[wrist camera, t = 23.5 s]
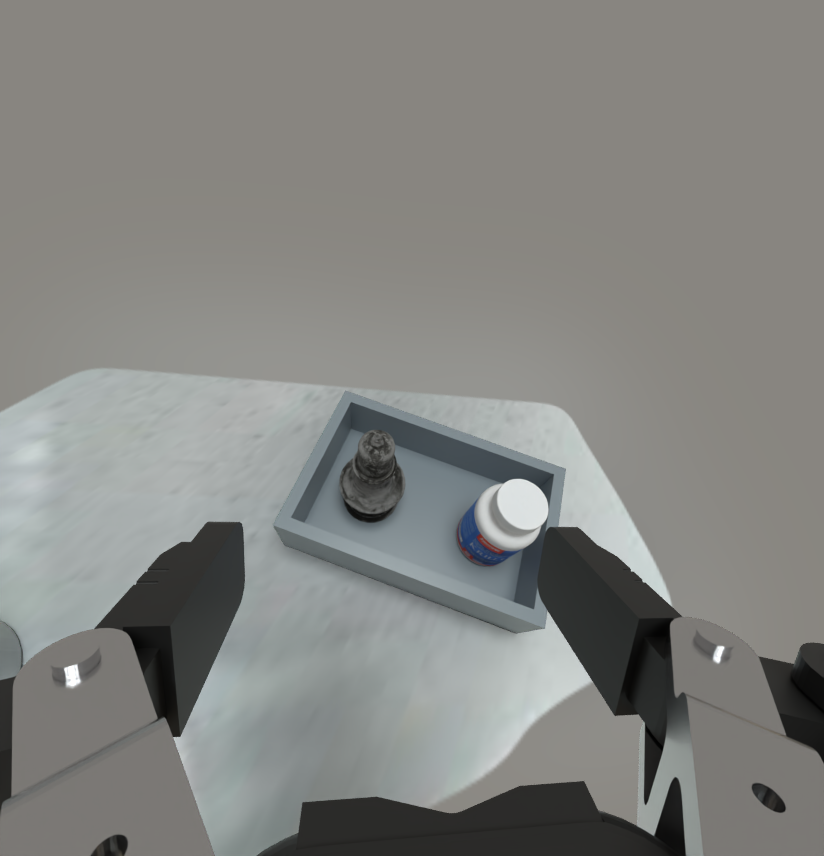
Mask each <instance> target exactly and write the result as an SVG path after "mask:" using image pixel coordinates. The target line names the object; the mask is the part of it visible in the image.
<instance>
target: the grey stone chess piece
mask: <svg viewBox="0 0 824 856" xmlns="http://www.w3.org/2000/svg"><path fill="white" fill-rule="evenodd" d="M394 453H395V443H394V440H393V438H392V437H391V435H389V434H388V433H387V432H385V431H382V430H371V431H368V432H366V433H365V434H364V435H363V436H362V437H361V439H360V440H359V443H358V451H357V452H356V454H355V455H354V458H352V459H351V460H350V461H349V462H348V463H347V464H346V465H345V466H344V468H343V469H342V472H341V475H340V479H339V487H340V491H341V495H342V496H343V500H344V504H345V507H346V509H347V511H348V512H349V513H350V514H351V515H352V516H353V517H354V518H356V519H357V520H359V521H362V522H366V523H375V522H379V521H382V520H384V519H386V518H388V517H389V516H390V515H391V514H392V513H393V511H394V510H395V508H396V506H397V503H398V502H399V501H400V499H401V498H402V496H403V494H404V490H405V476H404V473H403V470H402V469H401V467H400V466H399V464H398V463H397V460H396V457H395V455H394Z"/></svg>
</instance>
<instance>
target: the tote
mask: <svg viewBox="0 0 824 856" xmlns="http://www.w3.org/2000/svg"><path fill="white" fill-rule="evenodd" d="M371 430H382V431H385V432H387V433H388V434H389V435H391V437H392V438H393V440H394V443H395V453H394V455H395V457H396V460H397V463H398V464H399V466H400V467H401V469H402V470H403V473H404V476H405V490H404V494H403V496H402V498H401V499H400V501H399V502H398V503H397V506H396V508H395V510H394V511H393V513H392V514H391V515H390V516H389V517H388V518H386V519H384V520H382V521H379V522H375V523H366V522H362V521H359V520H357V519H356V518H354V517H353V516H352V515H351V514H350V513H349V512H348V511H347V509H346V507H345V504H344V500H343V496H342V495H341V491H340V487H339V479H340V475H341V472H342V469H343V468H344V466H345V465H346V464H347V463H348V462H349V461H350V460H351V459H352V458H354V455H355V454H356V452H357V451H358V443H359V440H360V439H361V437H362V436H363V435H364V434H365V433H366V432H368V431H371ZM565 471H566V469H565V468H562V467H559V466H556V465H553V464H551V463H548V462H545V461H542V460H539V459H536V458H534V457H531V456H528V455H525V454H522V453H520V452H517V451H514V450H511V449H508V448H506V447H503V446H500V445H497V444H494V443H491V442H489V441H486V440H483V439H480V438H477V437H475V436H472V435H469V434H466V433H463V432H461V431H458V430H455V429H452V428H449V427H447V426H444V425H441V424H438V423H435V422H432V421H430V420H427V419H424V418H421V417H418V416H416V415H413V414H410V413H407V412H404V411H402V410H399V409H396V408H393V407H390V406H387V405H385V404H382V403H379V402H376V401H373V400H371V399H368V398H365V397H362V396H359V395H357V394H354V393H351V392H348V391H345V392H344V394H343V396H342V398H341V400H340V402H339V403H338V405H337V407H336V409H335V411H334V413H333V415H332V416H331V418H330V420H329V422H328V424H327V426H326V428H325V429H324V431H323V433H322V435H321V437H320V439H319V440H318V442H317V444H316V446H315V448H314V450H313V452H312V453H311V455H310V457H309V459H308V461H307V463H306V465H305V466H304V468H303V470H302V472H301V474H300V476H299V477H298V479H297V481H296V483H295V485H294V487H293V489H292V490H291V492H290V494H289V496H288V498H287V500H286V501H285V503H284V505H283V507H282V509H281V511H280V513H279V514H278V516H277V518H276V520H275V522H274V524H273V526H274V528H275V530H276V531H277V533H278V535H279V537H280V538H281V540H282V542H283V544H284V545H286V546H289V547H291V548H294V549H297V550H299V551H302V552H304V553H307V554H310V555H312V556H315V557H318V558H320V559H323V560H325V561H328V562H331V563H333V564H336V565H338V566H341V567H344V568H346V569H349V570H352V571H354V572H357V573H359V574H362V575H365V576H367V577H370V578H372V579H375V580H378V581H380V582H383V583H386V584H388V585H391V586H393V587H396V588H399V589H401V590H404V591H406V592H409V593H412V594H414V595H417V596H420V597H422V598H425V599H427V600H430V601H433V602H435V603H438V604H440V605H443V606H446V607H448V608H451V609H454V610H456V611H459V612H461V613H464V614H467V615H469V616H472V617H474V618H477V619H480V620H482V621H485V622H488V623H490V624H493V625H495V626H498V627H501V628H503V629H506V630H508V631H511V632H514V633H522V632H527V631H533V630H539V629H545V624H546V617H547V609H546V607H545V606H544V604H543V602H542V601H541V598H540V596H539V592H538V585H537V578H538V571H539V565H540V560H541V554H542V548H543V542H544V537H545V533H546V531H547V529H548V528H549V527H558V525H559V517H560V510H561V502H562V494H563V487H564V479H565ZM512 479H524V480H527V481H529V482H531V483H533V484H535V485H536V486H537V487H538V488H539V489H540V490H541V491H542V492H543V494H544V495H545V497H546V499H547V502H548V508H549V510H548V516H547V519H546V521H545V522H544V523H543V525H541V529H540V532H539V534H538V536H537V538H536V539H535V540H534V541H533V542H532V543H531V544H530V545H529V546H527V547H526V548H524V549H522V550H521V551H519V552H517V553H516V554H514V555H513V556H511V557H509V558H508V559H506V560H505V561H503V562H501V563H499V564H497V565H494V566H481V565H478V564H476V563H474V562H472V561H471V560H469V559H468V558H467V557H466V556H465V555H464V554H463V553H462V551H461V549H460V547H459V545H458V542H457V537H456V533H457V527H458V524H459V522H460V520H461V518H462V517H463V516H464V514H465V513H466V512H467V511H468V510H469V508H470V507H471V506H472V505H473V504H474V502H475V501H476V500H477V499H478V498H479V496H480V495H481V494H482V493H483V492H484V491H485V490H486V489H488V488H489V487H491V486H494V485H497V484H504V483H505V482H507V481H509V480H512Z"/></svg>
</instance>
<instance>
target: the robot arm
mask: <svg viewBox="0 0 824 856" xmlns="http://www.w3.org/2000/svg"><path fill="white" fill-rule="evenodd" d="M244 583H245V568H244V538H243V527H242V524H241V523H240V522H207V523H206V524H205V525H204V527H203V528H202V529H201V530H200V531H199V533H198V534H197V535H196V536H195V538H194V539H193V540H192V541H191V542H181V543H179V544H177V545H176V546H174V547H172V548H171V549H169V550H167V551H166V552H164V553H162V554H161V555H160V556H159V557H158V558H157V559H156V560H155V562H154V563H153V564H152V565H151V566H150V567H149V568H148V571H147V572H145V573H144V574H143V575H142V576H141V577H140V578H139V579H138V581H137V583H136V585H133V586H132V587H131V588H130V589H129V591H128V592H127V593H126V594H125V595H124V596H123V597H122V598H121V600H120V601H119V602H118V603H117V604H116V605H115V606H114V607H113V608H112V610H111V611H110V612H109V613H108V614H107V615H106V616H105V617H104V619H103V620H102V621H101V622H100V623H99V624H98V625H97V626H96V627H95V629H92V630H87V631H83V632H80V633H77V634H74V635H71V636H68V637H66V638H63V639H61V640H59V641H57V642H55V643H53V644H51V645H50V646H48V647H46V648H45V649H43V650H42V651H40V652H39V653H37V654H36V655H35V656H34V657H32V658H31V659H30V660H29V661H28V662H27V663H26V664H25V665H24V666H23V667H22V668H21V647H20V643H19V639H18V638H17V636H16V635H15V633H14V631H13V630H12V629H11V628H10V627H9V626H7V625H6V624H5V623H4V622H2V621H0V856H215V855H214V852H213V849H212V846H211V844H210V841H209V838H208V835H207V832H206V830H205V827H204V824H203V821H202V818H201V815H200V813H199V810H198V807H197V804H196V801H195V798H194V796H193V793H192V790H191V787H190V784H189V781H188V779H187V776H186V773H185V770H184V767H183V764H182V762H181V759H180V756H179V753H178V750H177V747H176V745H175V742H174V739H173V737H180V736H181V734H182V732H183V730H184V727H185V725H186V723H187V721H188V718H189V716H190V714H191V712H192V710H193V707H194V705H195V703H196V701H197V699H198V696H199V694H200V692H201V690H202V687H203V685H204V683H205V681H206V679H207V676H208V674H209V672H210V670H211V668H212V665H213V663H214V661H215V659H216V656H217V654H218V652H219V650H220V648H221V645H222V643H223V641H224V639H225V637H226V634H227V632H228V630H229V628H230V625H231V623H232V621H233V619H234V617H235V614H236V612H237V610H238V608H239V605H240V603H241V600H242V596H243V591H244ZM537 585H538V592H539V596H540V598H541V601H542V602H543V604H544V606H545V607H546V609H547V610H548V612H549V613H550V615H551V617H552V618H553V620H554V621H555V623H556V624H557V626H558V628H559V629H560V631H561V632H562V634H563V635H564V637H565V639H566V640H567V642H568V643H569V645H570V646H571V648H572V650H573V651H574V653H575V654H576V656H577V657H578V659H579V661H580V662H581V664H582V665H583V667H584V668H585V670H586V672H587V673H588V675H589V676H590V678H591V679H592V681H593V682H594V684H595V686H596V687H597V689H598V690H599V692H600V693H601V695H602V697H603V698H604V699H605V701H606V703H607V704H608V706H609V708H610V709H611V711H612V712H613V714H614V715H615V716H617V715H636V714H639V715H640V717H641V718H642V720H643V724H642V728H641V732H640V745H639V781H638V818H637V826H636V825H634V824H632V823H630V822H628V821H626V820H624V819H622V818H619V817H616V816H614V815H611V814H608V813H605V812H602V811H598V809H597V808H596V805H595V803H594V801H593V799H592V797H591V795H590V793H589V791H588V788H587V786H586V784H585V782H584V781H580V782H567V783H554V784H541V785H528V786H519V787H517V788H514V789H512V790H509V791H508V792H505V793H503V794H500V795H498V796H496V797H494V798H491V799H489V800H487V801H484V802H482V803H480V804H477V805H475V806H473V807H471V808H468V809H466V810H464V811H462V812H458V813H444V812H440V811H436V810H432V809H427V808H423V807H419V806H414V805H410V804H406V803H401V802H397V801H393V800H388V799H384V798H380V797H368V798H355V799H341V800H328V801H315V802H303V803H302V811H301V818H300V826H299V833H297V834H295V835H293V836H290V837H288V838H286V839H284V840H282V841H280V842H278V843H276V844H275V845H273V846H271V847H269V848H268V849H266V850H264V851H263V852H261V853H260V854H258V855H257V856H824V644H820V643H806V644H803V645H802V646H801V647H800V650H799V652H798V655H797V658H796V660H795V663H794V664H791V663H786V662H781V661H777V660H772V659H768V658H763V657H758V656H757V654H756V653H755V651H754V650H753V649H752V648H751V647H750V646H749V645H748V644H747V643H746V642H744V641H743V640H742V639H740V638H739V637H738V636H736V635H735V634H733V633H731V632H730V631H728V630H726V629H724V628H722V627H720V626H718V625H716V624H713V623H711V622H708V621H705V620H702V619H697V618H692V617H682V616H681V615H680V614H679V613H678V612H677V611H676V610H675V609H674V608H672V607H671V606H670V605H669V604H668V603H667V602H666V601H665V600H664V599H663V598H662V597H660V596H659V595H658V594H657V593H656V592H655V591H654V590H653V589H652V588H651V587H650V586H649V585H647V584H646V583H643V582H642V579H641V578H640V577H639V576H638V575H637V574H635V573H634V572H631V569H630V568H629V567H628V566H627V565H626V564H625V563H624V562H622V561H621V560H620V559H619V558H618V557H617V556H615V555H614V554H612V553H610V552H608V551H607V550H605V549H603V548H601V547H600V546H598V545H597V544H595V543H594V542H593V541H592V540H591V539H590V538H589V537H588V536H587V535H586V534H585V533H584V532H583V531H582V530H581V529H579V528H578V527H549V528H548V529H547V531H546V533H545V537H544V542H543V548H542V554H541V560H540V565H539V571H538V578H537ZM20 668H21V670H20Z"/></svg>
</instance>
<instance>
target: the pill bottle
mask: <svg viewBox="0 0 824 856" xmlns="http://www.w3.org/2000/svg"><path fill="white" fill-rule="evenodd" d="M548 510H549V508H548V502H547V499H546V497H545V495H544V494H543V492H542V491H541V490H540V489H539V488H538V487H537V486H536V485H535V484H533V483H531V482H529V481H527V480H524V479H512V480H509V481H507V482H505V483H504V484H497V485H494V486H491V487H489V488H488V489H486V490H485V491H484V492H483V493H482V494H481V495H480V496H479V498H478V499H477V500H476V501H475V502H474V504H473V505H472V506H471V507H470V508H469V510H468V511H467V512H466V513H465V514H464V516H463V517H462V518H461V520H460V522H459V524H458V527H457V533H456V537H457V542H458V545H459V547H460V549H461V551H462V553H463V554H464V555H465V556H466V557H467V558H468V559H469V560H471V561H472V562H474V563H476V564H478V565H481V566H494V565H497V564H499V563H501V562H503V561H505V560H506V559H508V558H509V557H511V556H513V555H514V554H516V553H517V552H519V551H521V550H522V549H524V548H526V547H527V546H529V545H530V544H531V543H532V542H533V541H534V540H535V539H536V538H537V536H538V534H539V532H540V529H541V525H543V523H544V522H545V521H546V519H547V516H548Z"/></svg>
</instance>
